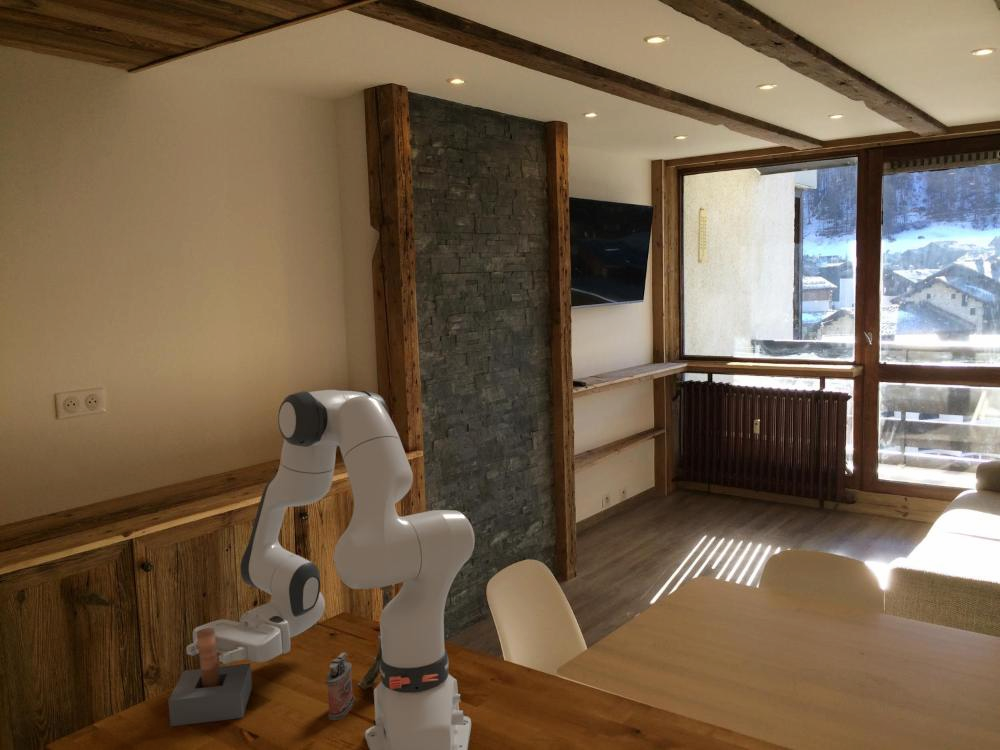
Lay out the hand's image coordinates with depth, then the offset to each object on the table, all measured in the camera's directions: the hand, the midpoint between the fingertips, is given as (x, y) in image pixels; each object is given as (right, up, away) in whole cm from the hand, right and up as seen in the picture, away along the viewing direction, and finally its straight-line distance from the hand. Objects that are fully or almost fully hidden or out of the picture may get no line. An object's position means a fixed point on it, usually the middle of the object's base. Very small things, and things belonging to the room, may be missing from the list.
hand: (204, 655), depth 163 cm
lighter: (+27, -10, -3) cm, 29 cm away
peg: (+1, -9, +2) cm, 10 cm away
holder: (+1, -10, +2) cm, 11 cm away
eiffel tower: (+36, -8, +7) cm, 37 cm away
